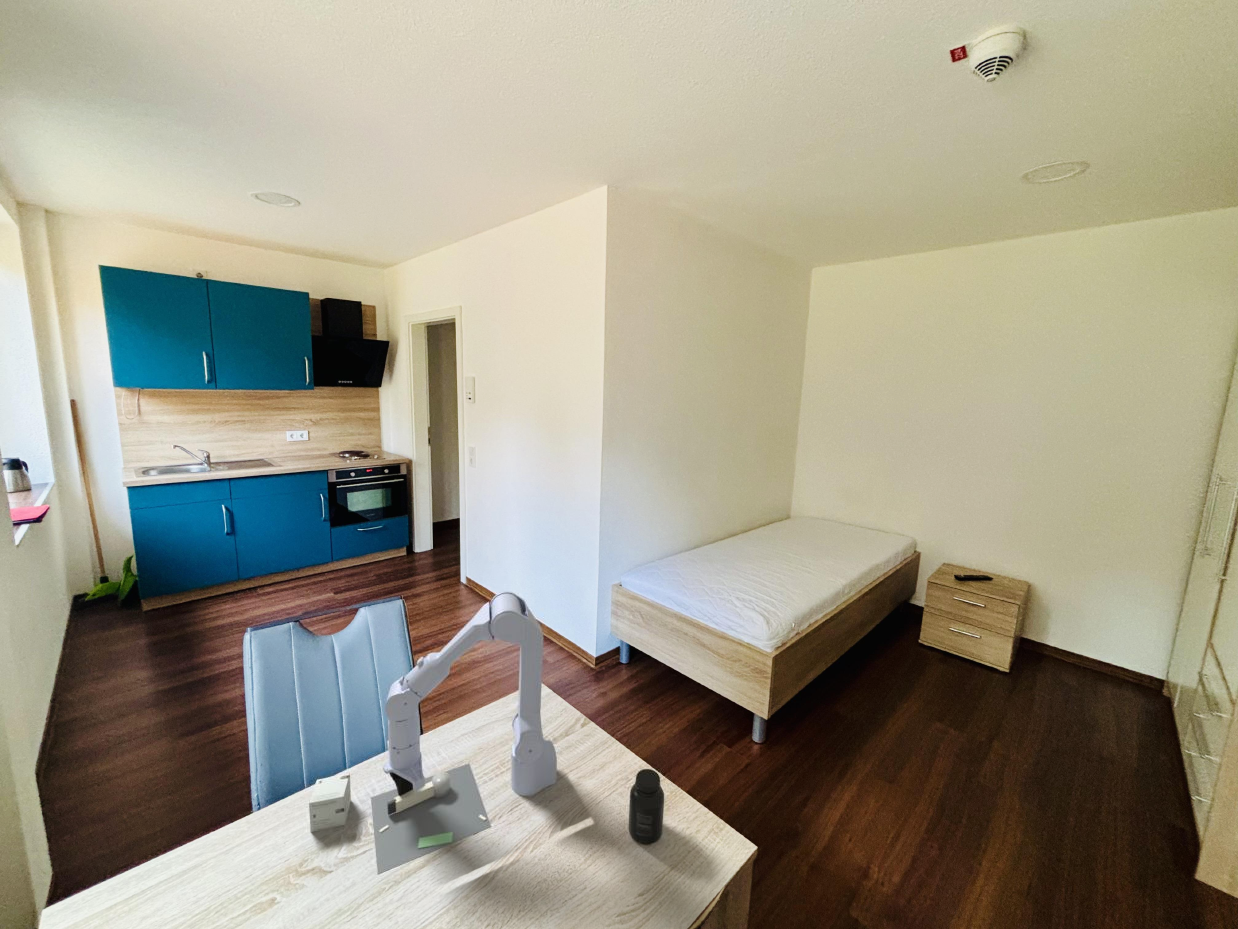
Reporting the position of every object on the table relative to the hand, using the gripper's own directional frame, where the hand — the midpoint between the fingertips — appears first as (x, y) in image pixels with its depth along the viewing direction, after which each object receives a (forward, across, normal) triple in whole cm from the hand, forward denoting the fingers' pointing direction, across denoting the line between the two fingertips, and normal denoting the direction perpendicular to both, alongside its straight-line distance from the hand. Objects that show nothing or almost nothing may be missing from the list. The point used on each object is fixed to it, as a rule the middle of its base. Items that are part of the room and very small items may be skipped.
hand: (406, 798), depth 100 cm
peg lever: (+1, +1, +2) cm, 3 cm away
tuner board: (+2, +5, +3) cm, 6 cm away
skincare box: (+3, -7, -12) cm, 14 cm away
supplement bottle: (+2, +36, +33) cm, 49 cm away
